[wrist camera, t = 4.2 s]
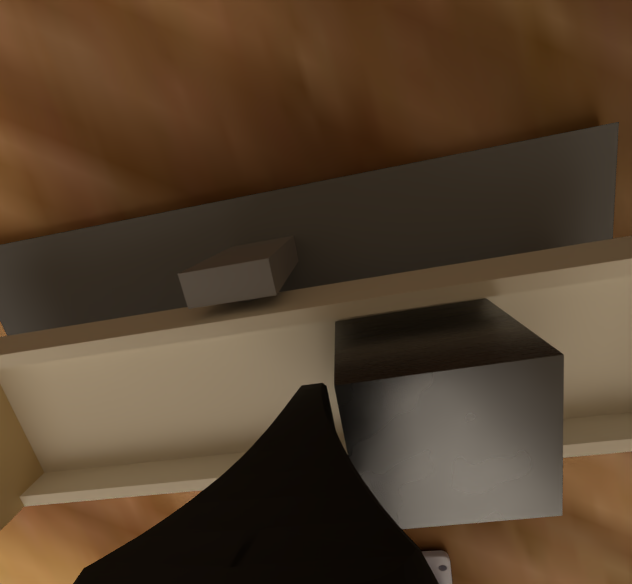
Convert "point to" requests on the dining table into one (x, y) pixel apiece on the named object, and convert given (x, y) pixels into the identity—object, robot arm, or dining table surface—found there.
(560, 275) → the beam
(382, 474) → the rider
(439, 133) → the dining table surface
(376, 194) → the stand
